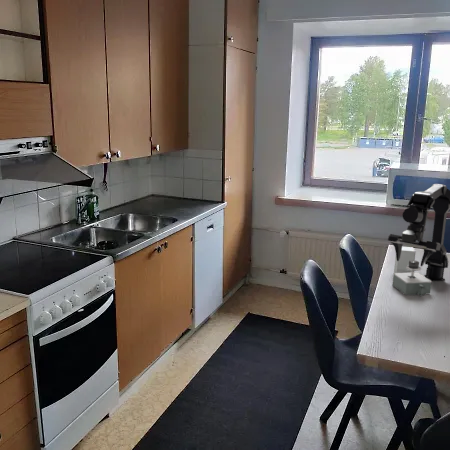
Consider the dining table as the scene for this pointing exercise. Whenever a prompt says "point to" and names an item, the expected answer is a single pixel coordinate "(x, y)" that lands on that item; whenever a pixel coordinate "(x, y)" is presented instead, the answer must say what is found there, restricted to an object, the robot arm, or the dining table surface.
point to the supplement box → (404, 260)
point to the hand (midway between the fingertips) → (409, 263)
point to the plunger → (413, 267)
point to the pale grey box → (412, 283)
